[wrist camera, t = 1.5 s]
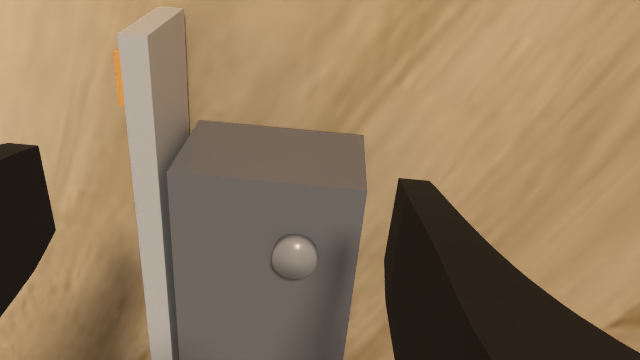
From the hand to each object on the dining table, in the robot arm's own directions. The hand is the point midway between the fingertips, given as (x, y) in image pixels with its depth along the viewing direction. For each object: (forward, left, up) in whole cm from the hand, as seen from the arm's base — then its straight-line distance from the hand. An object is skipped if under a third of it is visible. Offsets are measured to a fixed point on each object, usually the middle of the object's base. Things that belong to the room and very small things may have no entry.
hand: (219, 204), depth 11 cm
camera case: (-7, 0, -9) cm, 11 cm away
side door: (-5, +4, -8) cm, 10 cm away
